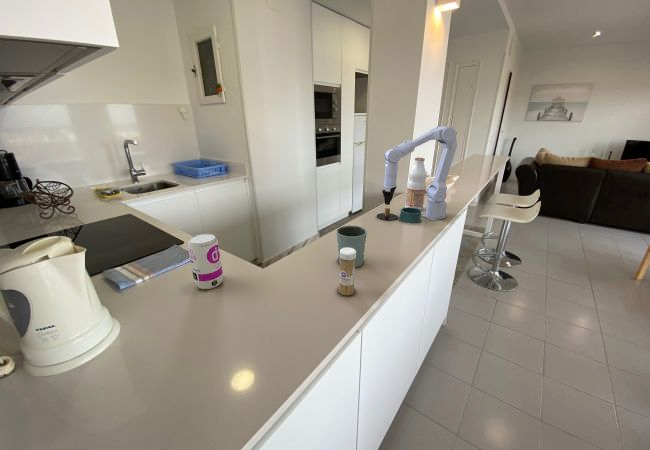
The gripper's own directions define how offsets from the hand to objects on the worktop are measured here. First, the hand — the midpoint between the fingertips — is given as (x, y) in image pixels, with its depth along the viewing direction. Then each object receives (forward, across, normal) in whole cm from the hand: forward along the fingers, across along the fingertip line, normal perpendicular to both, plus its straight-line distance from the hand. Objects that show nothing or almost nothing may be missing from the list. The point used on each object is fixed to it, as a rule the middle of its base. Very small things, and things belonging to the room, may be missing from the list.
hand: (388, 202), depth 137 cm
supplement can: (+9, +77, -44) cm, 89 cm away
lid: (+8, -1, 0) cm, 8 cm away
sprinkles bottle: (+9, +68, -2) cm, 68 cm away
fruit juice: (+9, -21, +12) cm, 26 cm away
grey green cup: (+9, +50, -6) cm, 51 cm away
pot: (+8, -1, +11) cm, 14 cm away
